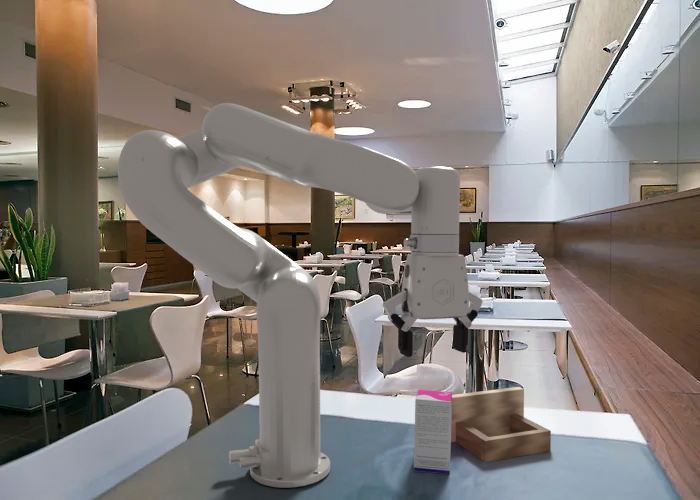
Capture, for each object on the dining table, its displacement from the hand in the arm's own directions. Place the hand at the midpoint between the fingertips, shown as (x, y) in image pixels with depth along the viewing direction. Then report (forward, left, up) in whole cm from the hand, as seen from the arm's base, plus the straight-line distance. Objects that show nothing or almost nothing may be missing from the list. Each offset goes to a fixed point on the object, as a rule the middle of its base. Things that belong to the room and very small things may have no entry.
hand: (433, 352), depth 88 cm
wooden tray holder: (+13, +3, -18) cm, 23 cm away
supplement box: (0, 0, -18) cm, 18 cm away
